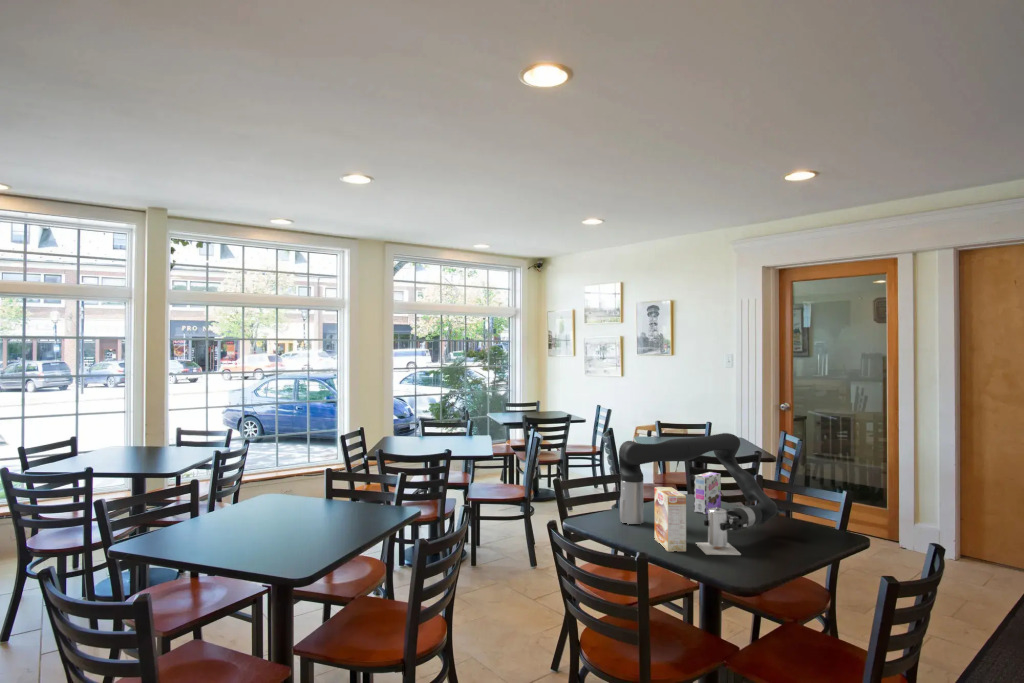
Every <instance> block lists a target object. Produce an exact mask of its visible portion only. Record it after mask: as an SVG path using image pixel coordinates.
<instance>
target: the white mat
mask: <svg viewBox="0 0 1024 683" xmlns="http://www.w3.org/2000/svg"><path fill="white" fill-rule="evenodd" d="M696 544H697V545H696ZM695 545H696V546H697V547H698V548H699V549H700V550H701V551H702V552H703V553H704V554H705V555H707V556H708V555H715V556H716V555H718V556H723V555H724V556H741V555H742V553H741V552H740V551H739V550H737V549H736V548H735V547H734V546H732V544H730V543H729V542H727V546H724V547H721V549H716V548H714V546H712V545H710V544H708V542H697V541H696V542H695Z"/></svg>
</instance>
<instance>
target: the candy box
mask: <svg viewBox="0 0 1024 683" xmlns="http://www.w3.org/2000/svg"><path fill="white" fill-rule="evenodd" d="M721 475H722V474H721V473H717V472H713V471H708V472H704V473H700V474H695V475H694V477H693V478H694V482H693V484H694V485H693V486H694V487H693V488H694V489H693V490H694V491H693V492H694V493H693V497H694V501H693V502H694V504H693V512H694V513H698V514H702V515H708V509H709V508H715V507H719V508H721V509H722V503H721V502H722V493H721V492H722V489H721V488H722V486H721V485H722V484H721V483H722V481H721V480H722V479H721V478H722V477H721Z"/></svg>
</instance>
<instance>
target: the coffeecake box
mask: <svg viewBox="0 0 1024 683" xmlns="http://www.w3.org/2000/svg"><path fill="white" fill-rule="evenodd" d="M654 538H655V539H654ZM654 538H653V539H654V541H655V542H657V543H658V544H659V543H660V544H661V545H662V546H663V547H664V548H665V549H664V550H666V552H668V553H672V552H673V553H675V552H674V551H677V552H687V495H685V494H683V493H682V492H680V491H678V490H677V489H675V488H673V487H672V486H656V487H655V486H654ZM660 544H659V545H660ZM661 545H660V546H661ZM662 546H661V547H662ZM663 547H662V548H663Z"/></svg>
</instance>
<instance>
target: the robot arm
mask: <svg viewBox="0 0 1024 683" xmlns="http://www.w3.org/2000/svg"><path fill="white" fill-rule="evenodd" d="M740 446H741V440H740V438H739V437H738V436H737V435H735V434H734V433H733V434H732V433H729V432H722V433H716V434H712V435H707V436H695V437H684V438H683V437H682V438H671V439H667V440H664V441H661V442H657V443H639V442H636V441H632V440H627V441H624V442H623V443H622V444H621V445H620V447H619V450H618V470H619V475H620V497H619V521H620V523H621V522H622V523H627V524H626V525H629V524H640V523H643V524H644V473H643V471H642V469H641V465H644V464H650V463H655V462H683V461H691V460H694V459H696V458H698V457H700V456H703V455H704V454H707V453H710V452H713V454H714V456H715V457H716V458H717V460H718V461H719V462H720V463H721V464H722V466H723V467H724V469H725V470H726V472H728V473H729V475H730V476H731V477H732V478H733V480H734V481H735V482H736V484H737V485H738V487H739V489H740V491H741V492H742V495H743V496H744V498H745V500H746V501H748V502H751V503H752V502H757V501H758V503H756V504H750V505H745V506H737V507H733V508H730V509H728V510H727V523H724V524H722V525H721V530H723V531H725V530H727V531H728V530H730V531H731V530H733V531H737V532H738V531H741V530H747V529H748V528H749V527H750V526H752V525H756V526H757V525H758V526H762V525H765V524H766V523H768V522H769V521H770V520H771V519H772V518H773V517H775V516H776V515H777V514H778V510H779V509H778V506H777V504H776V502H775V501H773V500H772V499H771V497H769V496H768V495H767V494H766V493H765V492H764V490H762V488H761V486H760V485H759V483H758V481H757V480H756V478H755V477H754V476H753V474H752V473H750V472H749V471H747V470H745V469H743V468H742V467H741V466H740V465H739V463H738V460H737V459H736V455H737V453H738V451H739V449H740ZM622 523H621V524H622ZM640 525H641V524H640ZM703 525H704V526H705V527H708V515H706V518H705V519H704V520H703Z"/></svg>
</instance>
